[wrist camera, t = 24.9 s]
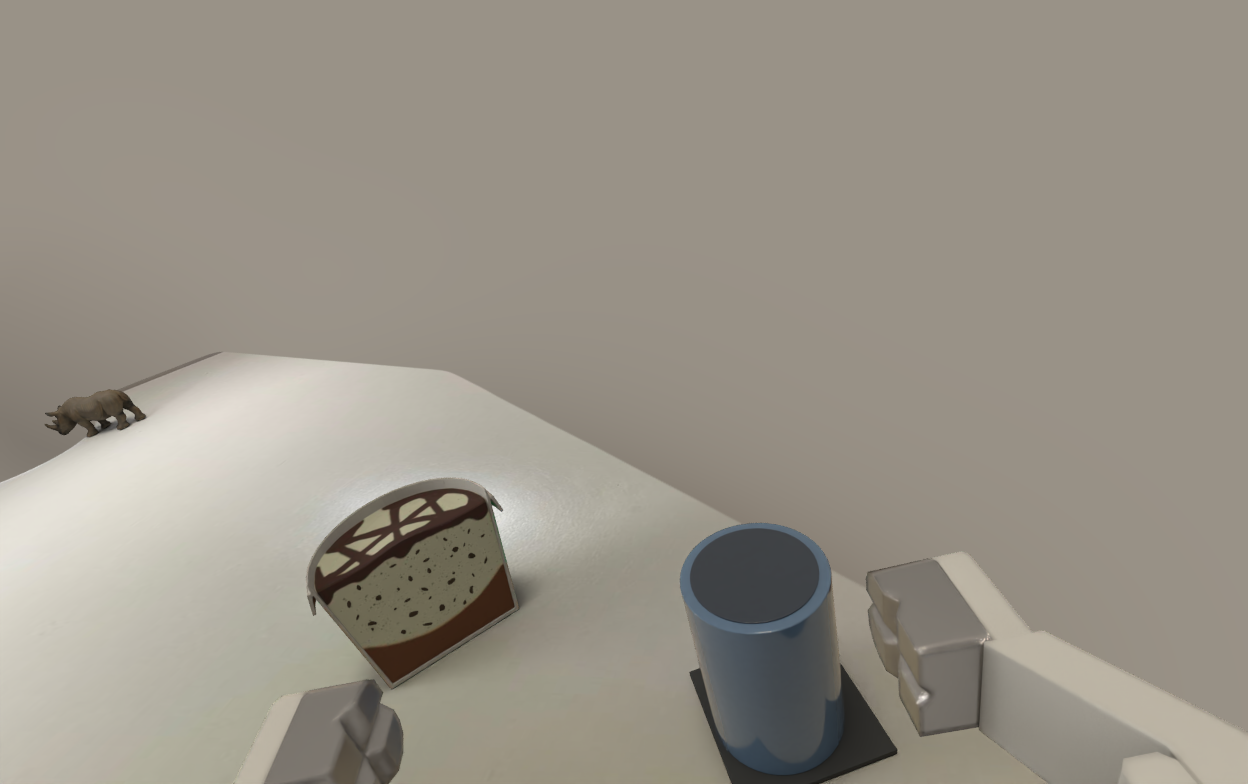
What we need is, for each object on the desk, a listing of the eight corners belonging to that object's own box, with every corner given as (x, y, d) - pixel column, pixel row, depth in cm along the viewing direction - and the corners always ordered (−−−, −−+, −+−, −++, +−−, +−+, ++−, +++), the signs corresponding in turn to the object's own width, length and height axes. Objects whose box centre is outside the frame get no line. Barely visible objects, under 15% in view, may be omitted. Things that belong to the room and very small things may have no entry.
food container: (504, 554, 50) (461, 451, 45) (537, 597, 45) (493, 485, 41) (350, 645, 45) (285, 539, 41) (369, 703, 40) (297, 590, 36)
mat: (897, 753, 31) (897, 749, 30) (743, 813, 30) (742, 809, 30) (816, 629, 38) (816, 626, 37) (690, 675, 37) (689, 671, 37)
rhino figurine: (68, 433, 99) (43, 400, 96) (151, 413, 99) (128, 380, 96) (49, 447, 96) (23, 414, 93) (135, 426, 95) (111, 392, 92)
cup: (827, 798, 29) (808, 651, 25) (693, 747, 33) (654, 610, 28) (857, 675, 34) (846, 534, 30) (737, 643, 38) (711, 512, 33)
